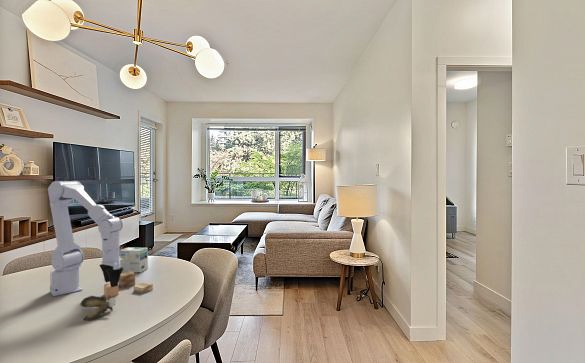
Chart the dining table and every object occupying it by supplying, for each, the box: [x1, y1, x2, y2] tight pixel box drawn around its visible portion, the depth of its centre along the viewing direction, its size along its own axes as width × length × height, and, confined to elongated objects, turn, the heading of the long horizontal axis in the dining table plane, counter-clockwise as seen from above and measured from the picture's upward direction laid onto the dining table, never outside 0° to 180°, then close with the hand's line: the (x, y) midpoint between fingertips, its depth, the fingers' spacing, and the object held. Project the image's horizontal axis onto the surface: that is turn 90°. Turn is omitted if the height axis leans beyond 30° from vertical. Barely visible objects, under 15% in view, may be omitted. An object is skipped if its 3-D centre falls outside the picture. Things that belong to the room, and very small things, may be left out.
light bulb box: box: [119, 247, 149, 273], centre depth 151 cm, size 11×7×11 cm, turn 84°
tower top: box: [119, 271, 136, 282], centre depth 132 cm, size 5×5×2 cm
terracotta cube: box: [103, 283, 120, 298], centre depth 120 cm, size 4×4×4 cm
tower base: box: [118, 279, 136, 288], centre depth 132 cm, size 5×5×2 cm
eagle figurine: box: [79, 295, 117, 322], centre depth 103 cm, size 8×7×9 cm
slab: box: [133, 281, 154, 294], centre depth 125 cm, size 5×5×2 cm
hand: (111, 284), depth 120 cm, fingers open, 7 cm apart
